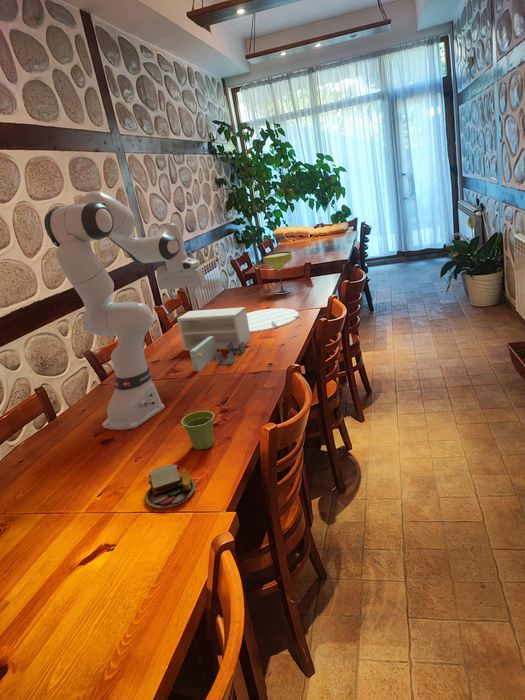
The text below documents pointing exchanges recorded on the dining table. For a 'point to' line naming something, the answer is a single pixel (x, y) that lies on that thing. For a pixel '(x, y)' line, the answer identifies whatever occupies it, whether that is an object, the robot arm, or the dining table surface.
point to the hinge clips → (230, 354)
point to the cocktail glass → (278, 262)
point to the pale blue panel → (203, 353)
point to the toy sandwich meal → (168, 487)
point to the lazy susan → (270, 318)
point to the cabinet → (214, 327)
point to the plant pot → (200, 429)
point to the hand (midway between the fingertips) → (185, 297)
